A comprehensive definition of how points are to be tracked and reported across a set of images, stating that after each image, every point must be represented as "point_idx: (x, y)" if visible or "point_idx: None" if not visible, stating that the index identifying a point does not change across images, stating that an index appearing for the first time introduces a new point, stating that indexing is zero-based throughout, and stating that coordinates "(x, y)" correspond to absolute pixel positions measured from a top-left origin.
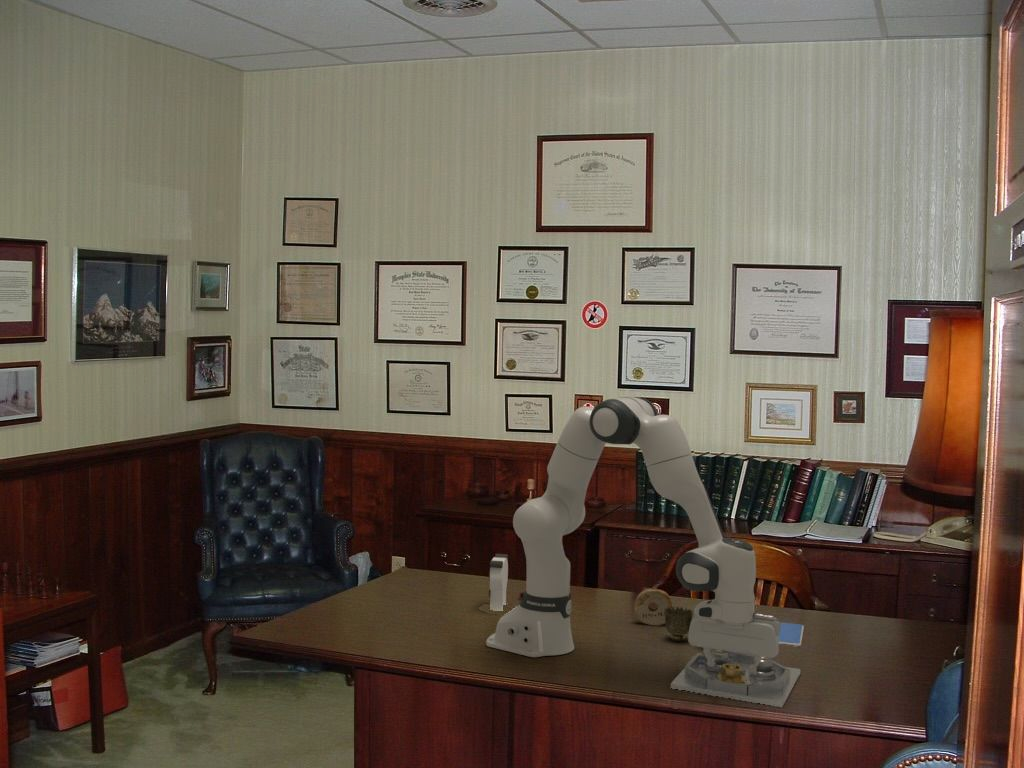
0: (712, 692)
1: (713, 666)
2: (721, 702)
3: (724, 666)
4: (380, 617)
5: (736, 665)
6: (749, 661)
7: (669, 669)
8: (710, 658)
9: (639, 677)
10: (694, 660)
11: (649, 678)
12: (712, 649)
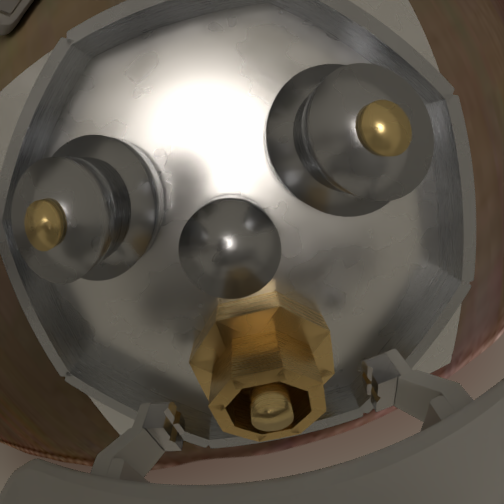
0: None
1: (182, 427)
2: None
3: (235, 426)
4: None
5: (279, 380)
6: (190, 10)
7: (7, 286)
8: (156, 450)
9: (32, 387)
10: (27, 296)
11: (44, 384)
12: (20, 16)
